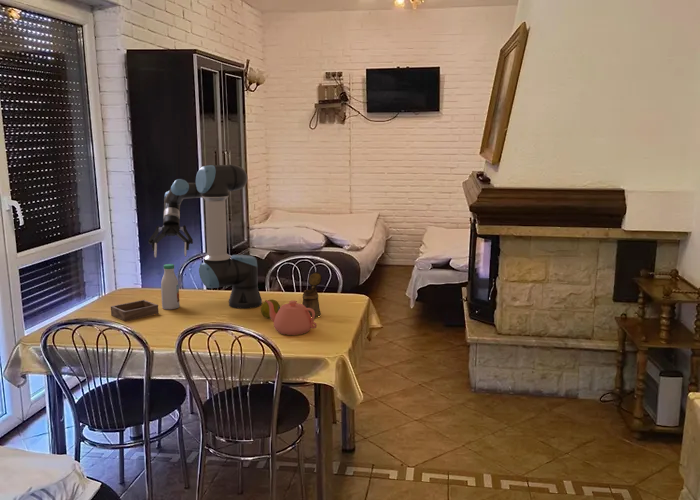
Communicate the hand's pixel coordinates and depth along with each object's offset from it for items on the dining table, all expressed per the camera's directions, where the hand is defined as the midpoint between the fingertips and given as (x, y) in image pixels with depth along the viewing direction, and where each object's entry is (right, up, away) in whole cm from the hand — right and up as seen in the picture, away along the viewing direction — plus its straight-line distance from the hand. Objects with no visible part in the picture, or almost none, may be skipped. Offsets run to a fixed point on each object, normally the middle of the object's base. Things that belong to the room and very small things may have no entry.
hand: (170, 255), depth 296 cm
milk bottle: (+2, -24, -6) cm, 25 cm away
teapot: (+60, -30, -39) cm, 78 cm away
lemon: (+50, -27, -22) cm, 61 cm away
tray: (-10, -26, -18) cm, 33 cm away
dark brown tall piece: (+67, -26, -16) cm, 74 cm away
